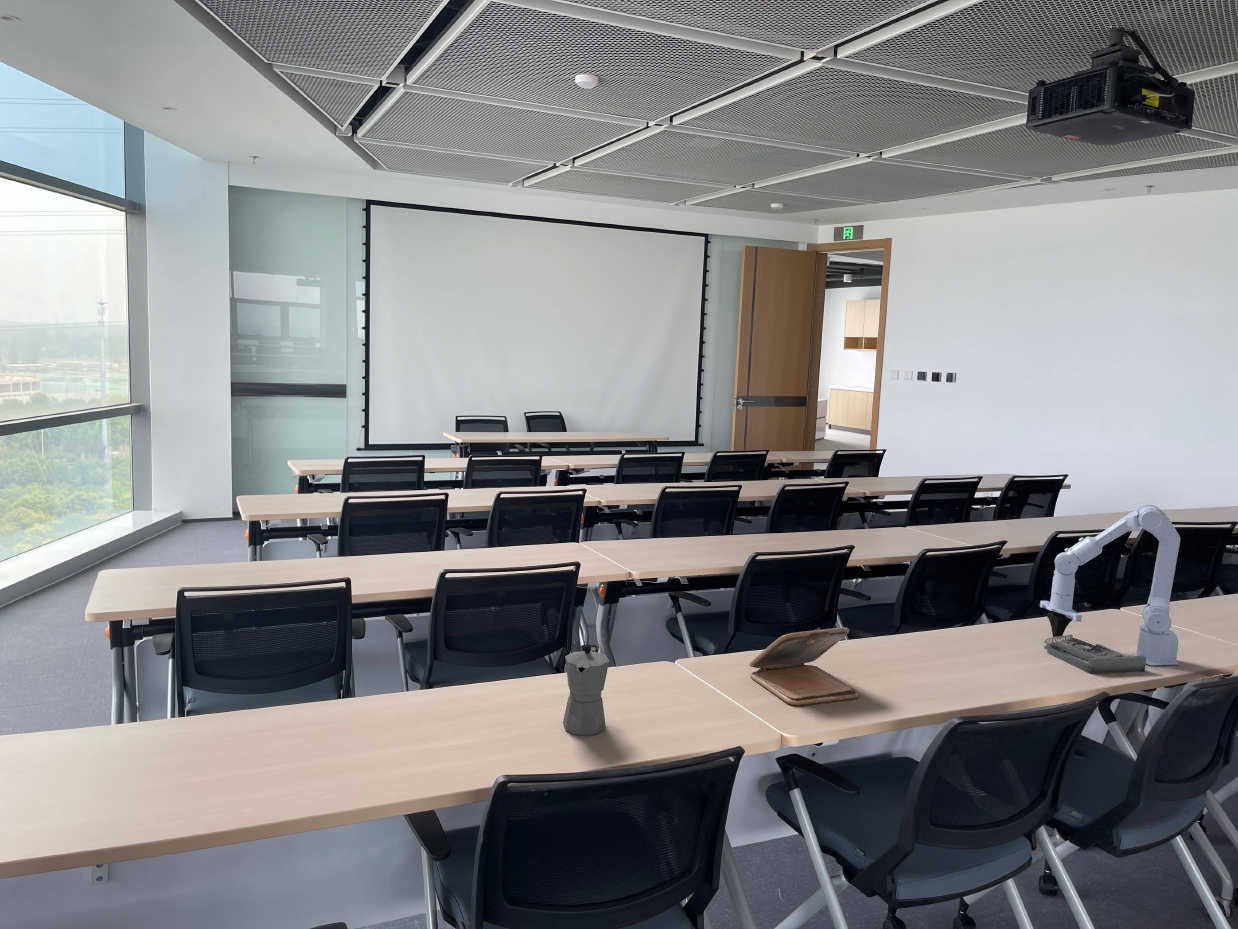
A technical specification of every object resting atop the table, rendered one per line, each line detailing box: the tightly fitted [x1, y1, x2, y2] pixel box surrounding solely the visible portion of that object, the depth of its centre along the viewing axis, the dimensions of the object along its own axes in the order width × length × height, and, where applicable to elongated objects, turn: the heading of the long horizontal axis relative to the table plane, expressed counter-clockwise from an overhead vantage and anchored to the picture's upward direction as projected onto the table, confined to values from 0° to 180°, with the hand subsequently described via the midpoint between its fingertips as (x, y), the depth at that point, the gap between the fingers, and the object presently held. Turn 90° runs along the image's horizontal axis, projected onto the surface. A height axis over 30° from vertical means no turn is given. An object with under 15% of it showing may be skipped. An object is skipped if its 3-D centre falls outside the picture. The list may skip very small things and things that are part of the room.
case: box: [748, 626, 859, 706], centre depth 202 cm, size 20×21×16 cm
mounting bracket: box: [1046, 643, 1147, 675], centre depth 231 cm, size 17×16×4 cm
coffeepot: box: [562, 644, 610, 737], centre depth 175 cm, size 15×9×18 cm, turn 171°
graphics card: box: [1043, 634, 1120, 662], centre depth 236 cm, size 17×4×12 cm
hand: (1057, 637), depth 245 cm, fingers closed
